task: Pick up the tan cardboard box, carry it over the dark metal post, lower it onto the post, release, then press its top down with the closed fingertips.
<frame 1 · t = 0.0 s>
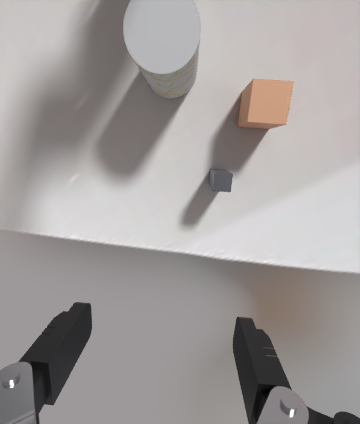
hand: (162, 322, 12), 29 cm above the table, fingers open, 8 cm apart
white round cylinder: (171, 70, 35), on the table
post: (216, 176, 39), on the table
tan cardboard box: (255, 110, 36), on the table
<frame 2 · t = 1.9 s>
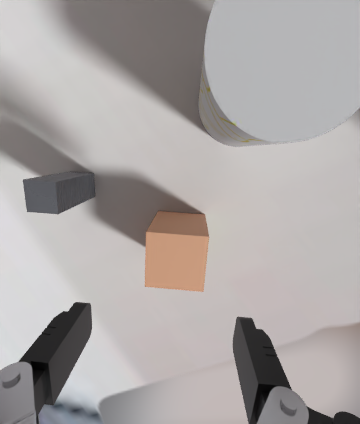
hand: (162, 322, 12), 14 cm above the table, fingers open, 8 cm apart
white round cylinder: (240, 103, 22), on the table
post: (82, 184, 24), on the table
tan cardboard box: (179, 234, 25), on the table
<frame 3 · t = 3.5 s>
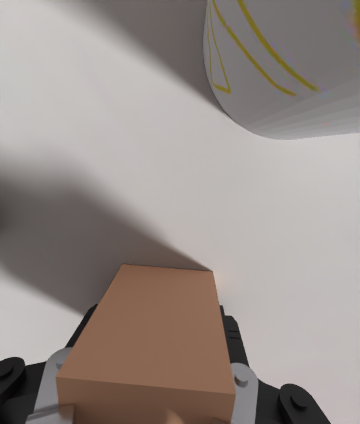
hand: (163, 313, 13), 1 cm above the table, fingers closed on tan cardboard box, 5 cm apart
white round cylinder: (295, 42, 10), on the table
tan cardboard box: (165, 306, 13), on the table, touching gripper
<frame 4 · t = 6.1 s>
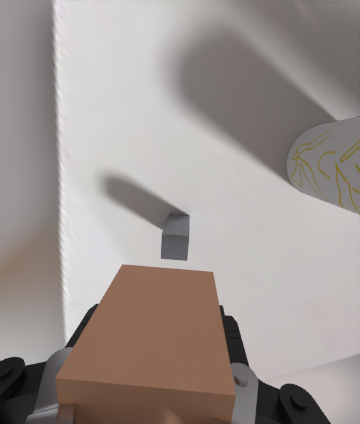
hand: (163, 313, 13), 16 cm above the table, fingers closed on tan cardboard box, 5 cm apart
white round cylinder: (321, 161, 26), on the table
post: (178, 224, 28), on the table
tan cardboard box: (165, 306, 13), point 16 cm above the table, touching gripper
when the fingers open (3 cm above the table, at t = 8.6 s): tan cardboard box drops 1 cm, resting on post.
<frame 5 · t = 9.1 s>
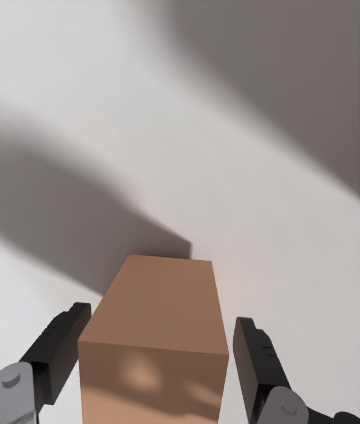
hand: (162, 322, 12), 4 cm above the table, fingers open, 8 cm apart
tan cardboard box: (167, 293, 15), point 1 cm above the table, touching post
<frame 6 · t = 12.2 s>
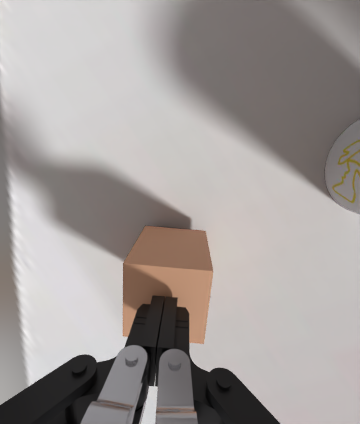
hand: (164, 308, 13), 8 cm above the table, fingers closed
tan cardboard box: (173, 255, 20), point 1 cm above the table, touching post
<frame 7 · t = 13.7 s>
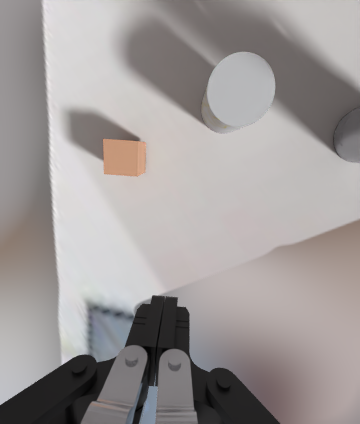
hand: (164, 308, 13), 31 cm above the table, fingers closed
white round cylinder: (224, 108, 38), on the table
tan cardboard box: (131, 156, 40), point 1 cm above the table, touching post
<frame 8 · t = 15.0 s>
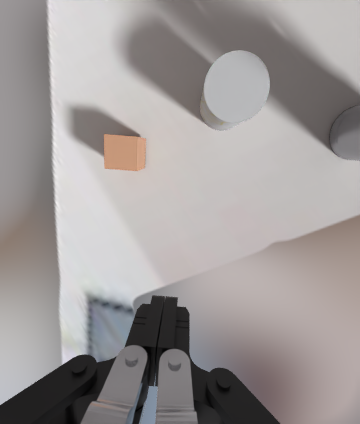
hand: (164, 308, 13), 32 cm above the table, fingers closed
white round cylinder: (222, 106, 39), on the table
tan cardboard box: (131, 152, 41), point 1 cm above the table, touching post
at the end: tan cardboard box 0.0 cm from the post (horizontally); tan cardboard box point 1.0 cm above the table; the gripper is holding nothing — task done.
